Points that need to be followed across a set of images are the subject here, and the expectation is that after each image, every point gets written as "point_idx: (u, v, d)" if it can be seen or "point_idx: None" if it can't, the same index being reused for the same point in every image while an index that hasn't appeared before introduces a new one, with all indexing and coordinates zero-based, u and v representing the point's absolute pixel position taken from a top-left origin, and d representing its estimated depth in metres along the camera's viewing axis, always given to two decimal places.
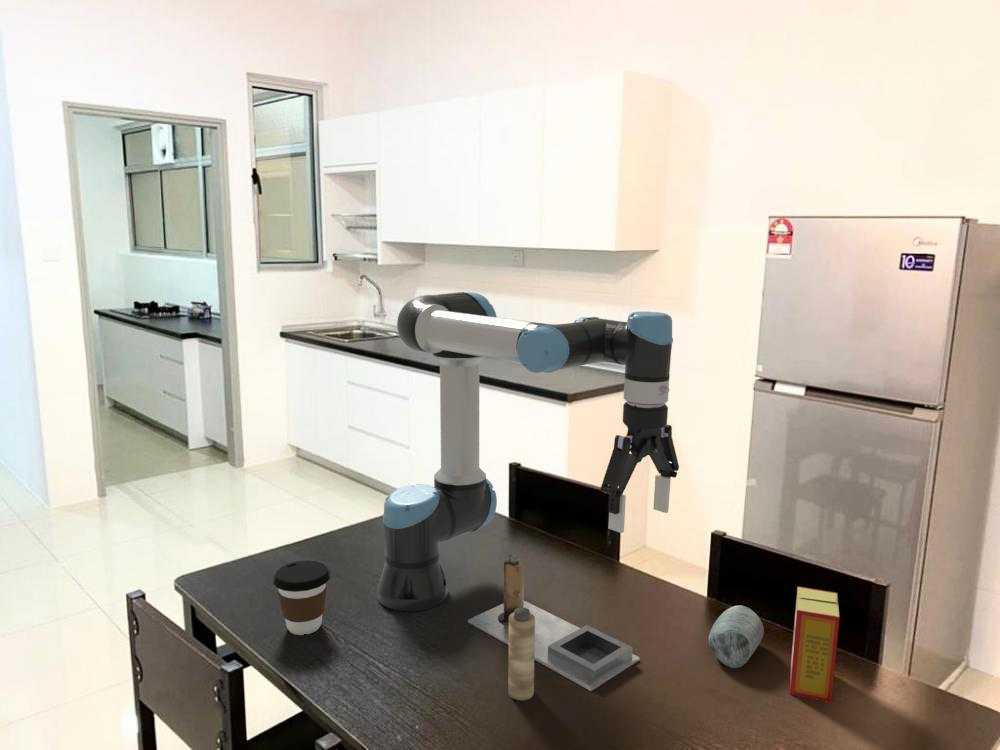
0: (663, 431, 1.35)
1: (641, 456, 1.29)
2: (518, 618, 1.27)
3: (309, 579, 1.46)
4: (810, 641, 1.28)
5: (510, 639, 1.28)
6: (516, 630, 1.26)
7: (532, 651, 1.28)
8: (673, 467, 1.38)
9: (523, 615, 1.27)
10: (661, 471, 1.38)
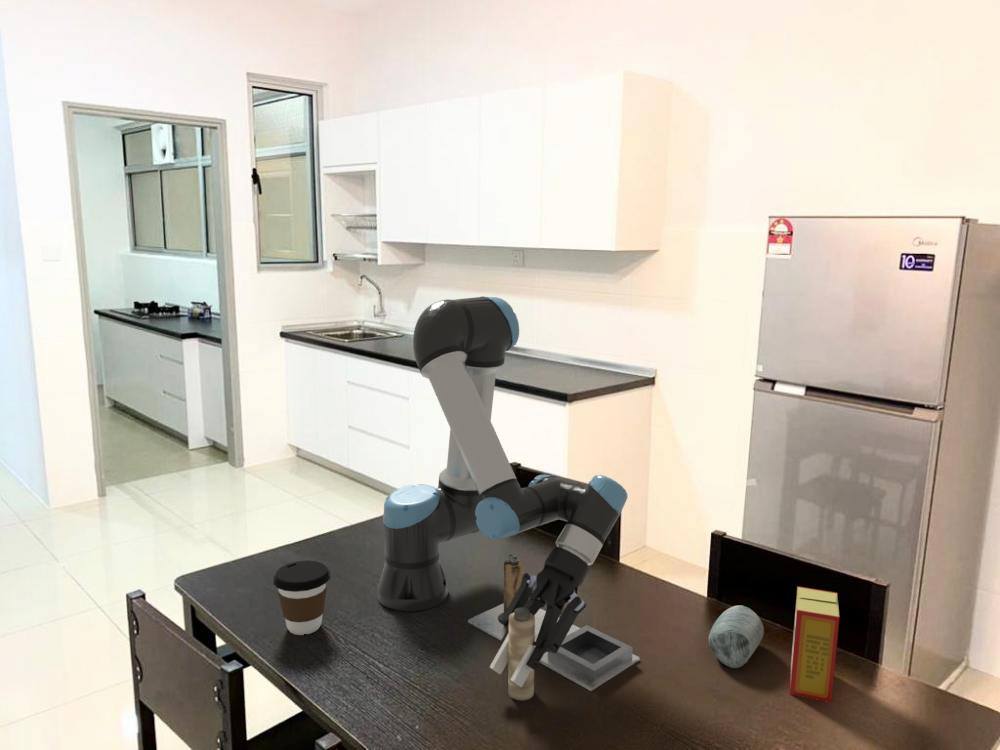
0: None
1: (559, 609, 1.32)
2: (518, 618, 1.27)
3: (309, 579, 1.46)
4: (810, 641, 1.28)
5: (510, 639, 1.28)
6: (516, 630, 1.26)
7: None
8: None
9: (523, 615, 1.27)
10: None
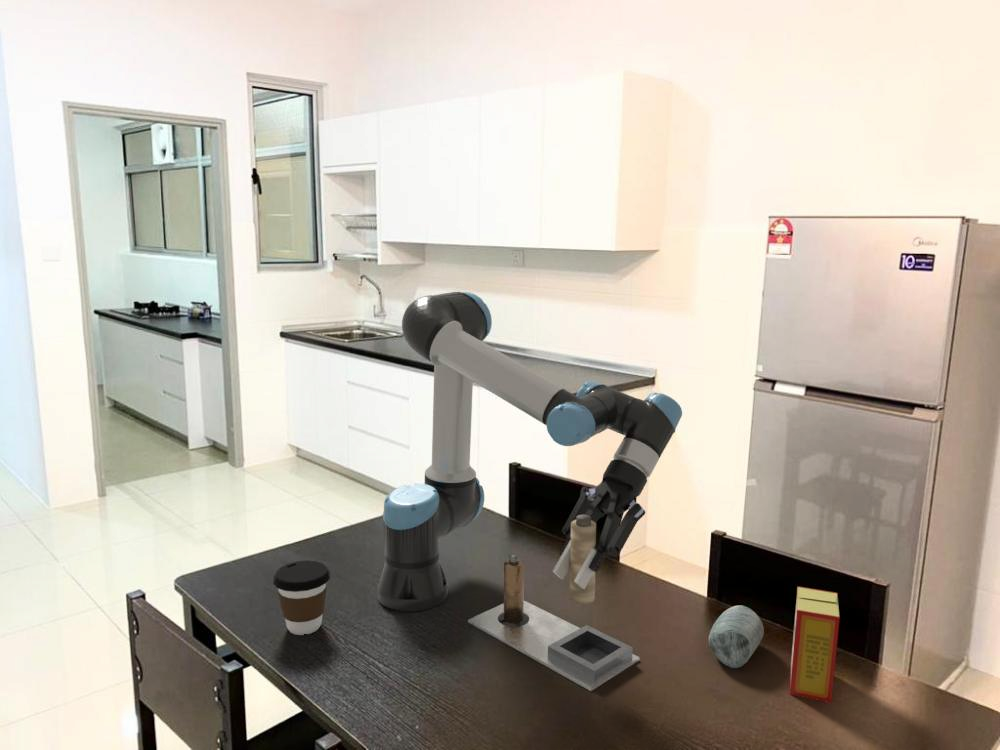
0: None
1: None
2: (580, 523, 1.32)
3: (309, 579, 1.46)
4: (810, 641, 1.28)
5: (572, 544, 1.33)
6: (578, 535, 1.31)
7: None
8: None
9: (585, 520, 1.32)
10: None
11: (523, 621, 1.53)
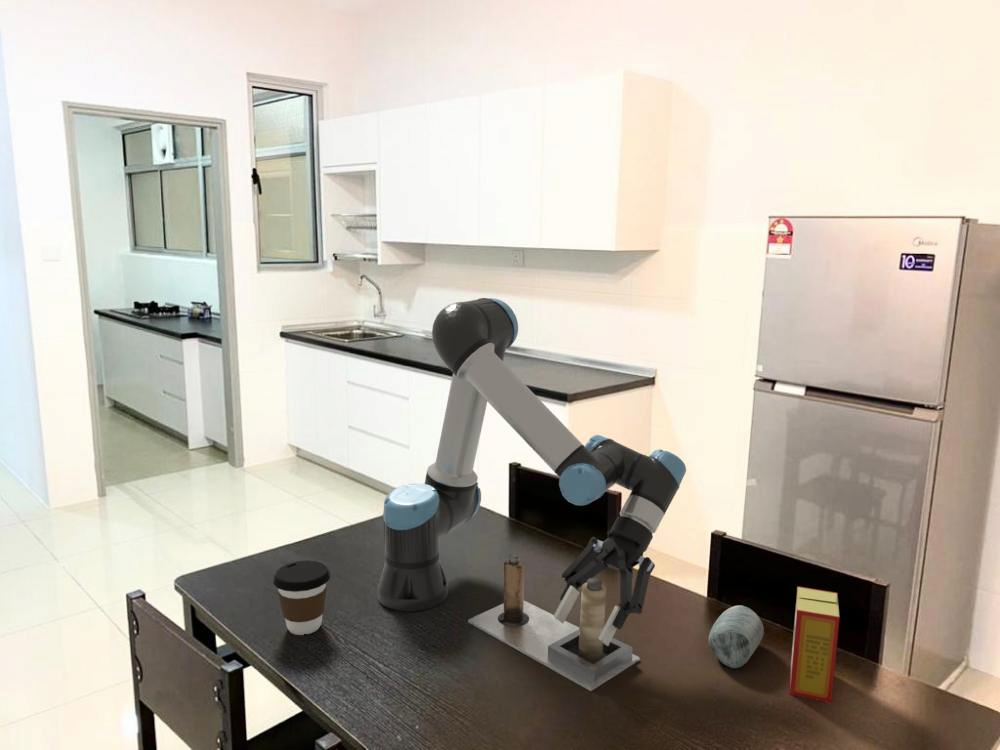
0: None
1: None
2: (591, 588, 1.36)
3: (309, 579, 1.46)
4: (810, 641, 1.28)
5: (583, 607, 1.37)
6: (589, 599, 1.36)
7: (603, 619, 1.37)
8: None
9: (596, 585, 1.36)
10: (574, 583, 1.43)
11: (523, 621, 1.53)
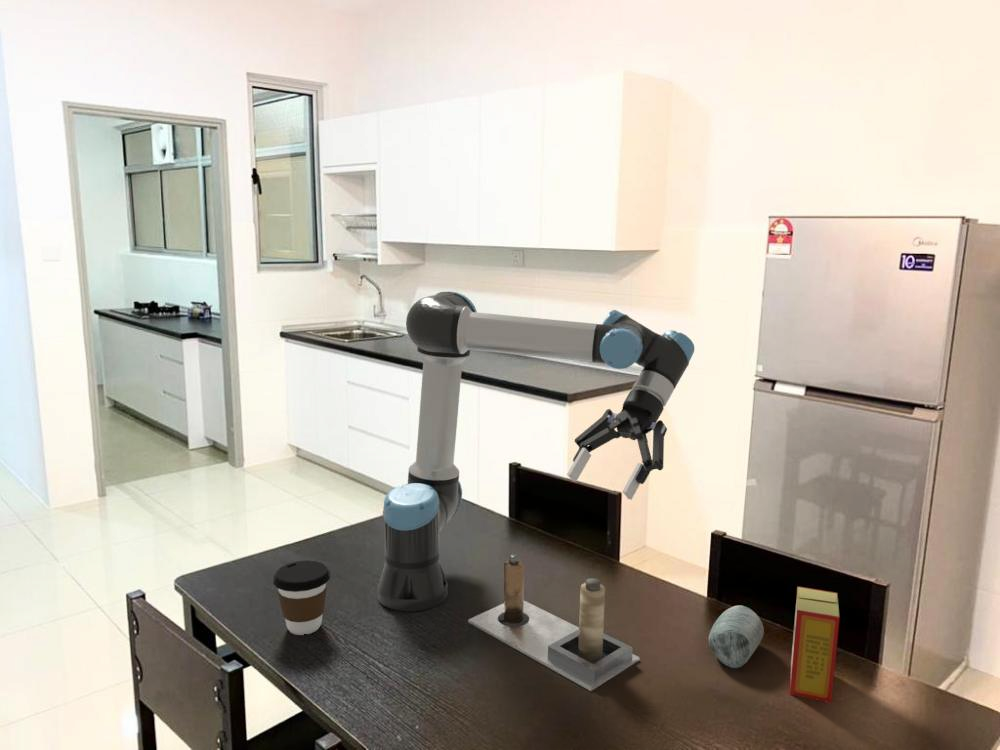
0: None
1: None
2: (590, 588, 1.36)
3: (309, 579, 1.46)
4: (810, 641, 1.28)
5: (582, 608, 1.37)
6: (588, 599, 1.36)
7: (602, 619, 1.37)
8: None
9: (595, 585, 1.36)
10: (586, 446, 1.53)
11: (523, 621, 1.53)
